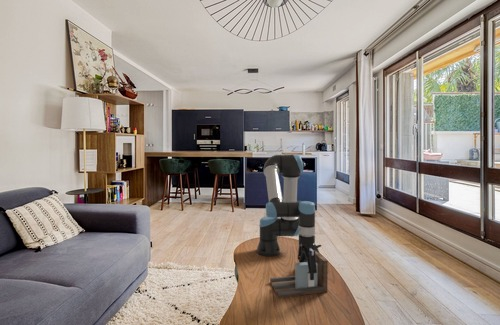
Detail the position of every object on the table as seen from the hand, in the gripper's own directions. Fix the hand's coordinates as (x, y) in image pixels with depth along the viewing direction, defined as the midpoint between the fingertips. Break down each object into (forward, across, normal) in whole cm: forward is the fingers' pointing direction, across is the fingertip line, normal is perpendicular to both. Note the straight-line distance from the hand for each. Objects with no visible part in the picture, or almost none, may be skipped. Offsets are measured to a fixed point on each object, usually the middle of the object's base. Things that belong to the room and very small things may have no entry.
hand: (306, 280), depth 127 cm
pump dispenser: (+5, -20, +12) cm, 24 cm away
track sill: (+5, -4, -3) cm, 7 cm away
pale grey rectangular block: (+4, 0, 0) cm, 4 cm away
